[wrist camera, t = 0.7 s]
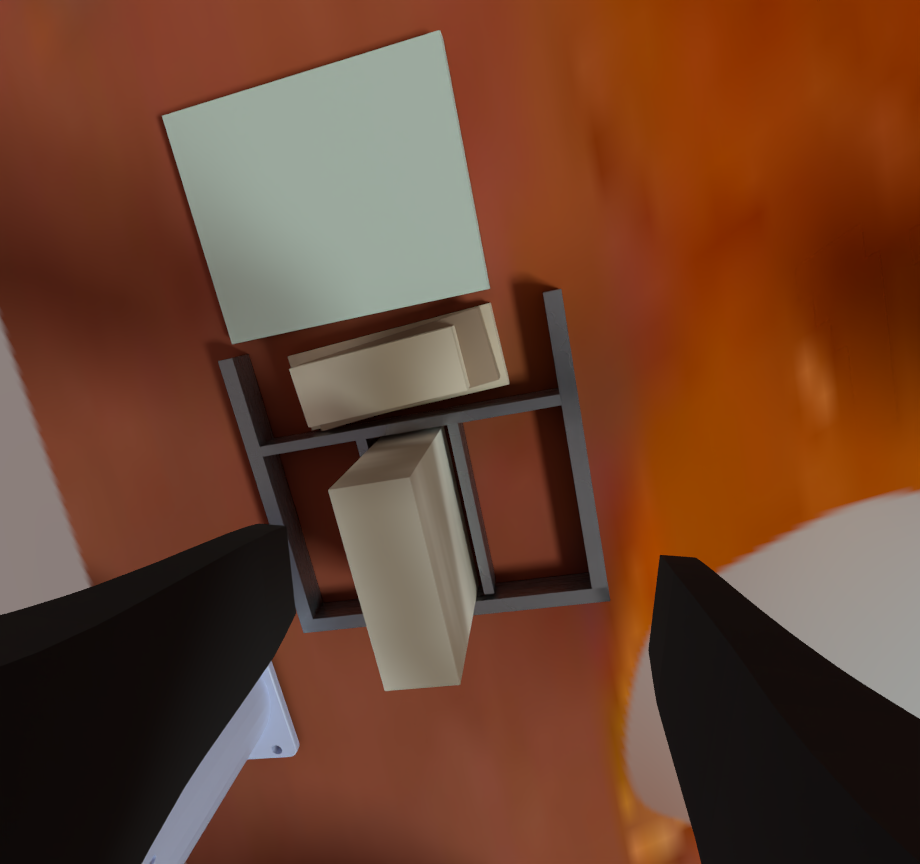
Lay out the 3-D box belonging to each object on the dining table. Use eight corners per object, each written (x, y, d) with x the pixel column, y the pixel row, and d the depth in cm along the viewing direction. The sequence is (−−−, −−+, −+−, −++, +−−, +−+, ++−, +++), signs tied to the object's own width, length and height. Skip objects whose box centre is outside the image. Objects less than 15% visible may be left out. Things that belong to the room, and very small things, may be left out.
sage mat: (240, 342, 21) (231, 344, 20) (172, 120, 19) (162, 115, 19) (490, 288, 19) (488, 288, 19) (443, 38, 17) (440, 30, 17)
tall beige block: (422, 589, 23) (384, 690, 17) (383, 434, 21) (328, 489, 16) (479, 582, 23) (460, 684, 17) (443, 424, 21) (409, 477, 15)
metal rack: (314, 616, 24) (303, 632, 23) (235, 356, 21) (217, 361, 20) (606, 584, 22) (610, 601, 21) (559, 288, 19) (561, 289, 18)
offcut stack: (319, 424, 22) (295, 441, 20) (296, 354, 21) (267, 362, 19) (510, 380, 20) (507, 393, 18) (491, 302, 20) (485, 305, 18)
